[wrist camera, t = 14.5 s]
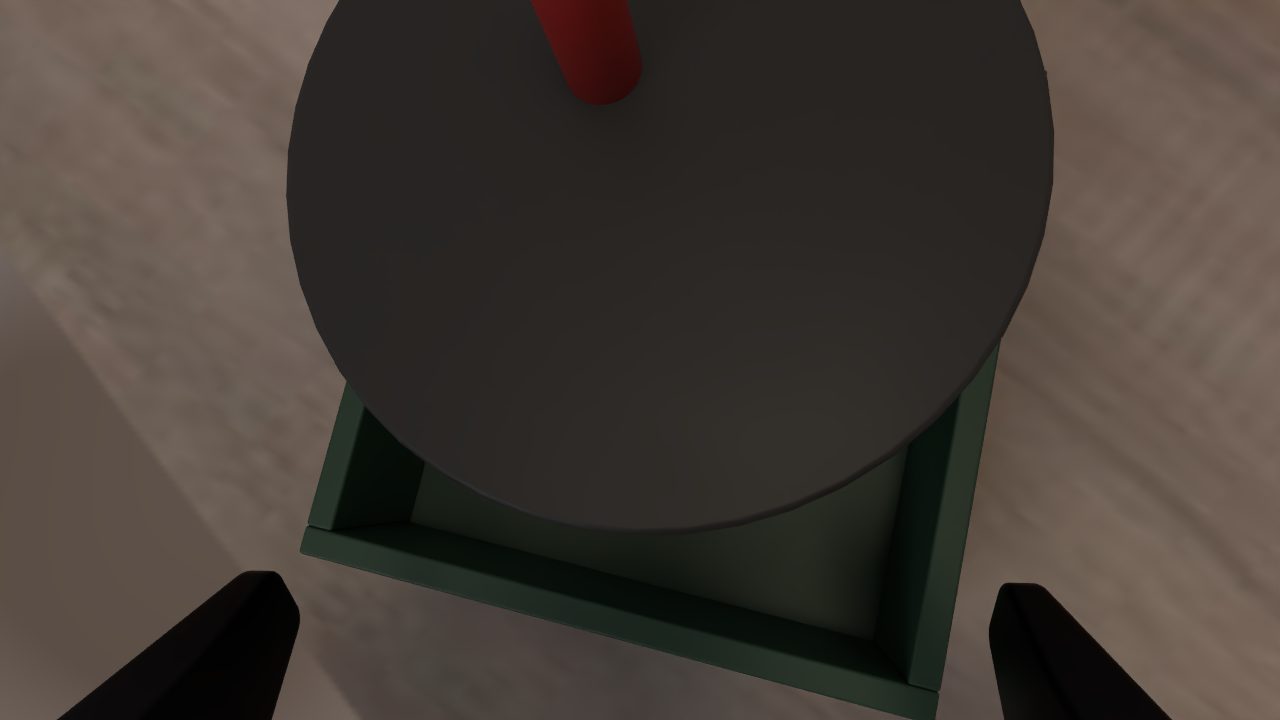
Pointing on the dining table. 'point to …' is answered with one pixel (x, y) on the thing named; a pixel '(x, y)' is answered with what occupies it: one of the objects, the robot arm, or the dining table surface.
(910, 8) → the cup with straw
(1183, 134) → the dining table surface
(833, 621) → the bin
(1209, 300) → the dining table surface
